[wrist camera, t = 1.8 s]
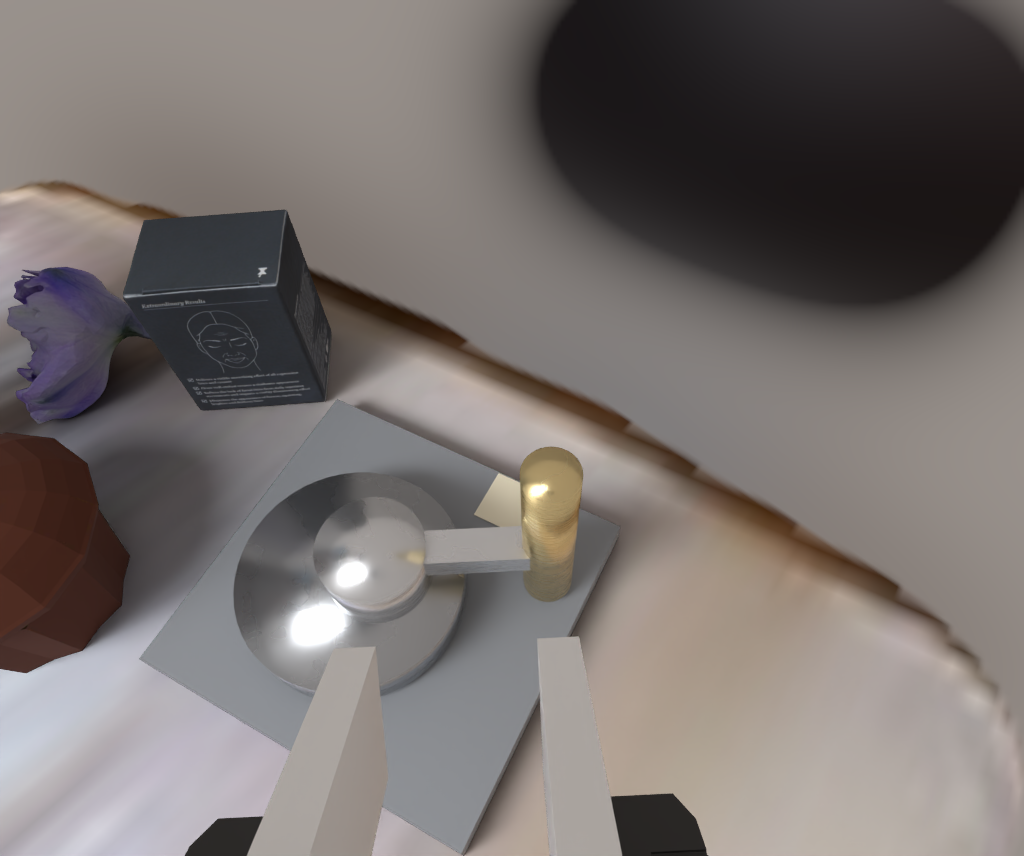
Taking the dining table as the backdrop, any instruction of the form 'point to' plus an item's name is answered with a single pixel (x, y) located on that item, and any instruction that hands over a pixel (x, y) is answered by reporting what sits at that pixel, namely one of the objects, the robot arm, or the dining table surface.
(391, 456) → the stand
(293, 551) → the crank handle
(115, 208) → the dining table surface
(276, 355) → the box
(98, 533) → the muffin
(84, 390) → the flower
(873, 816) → the dining table surface
